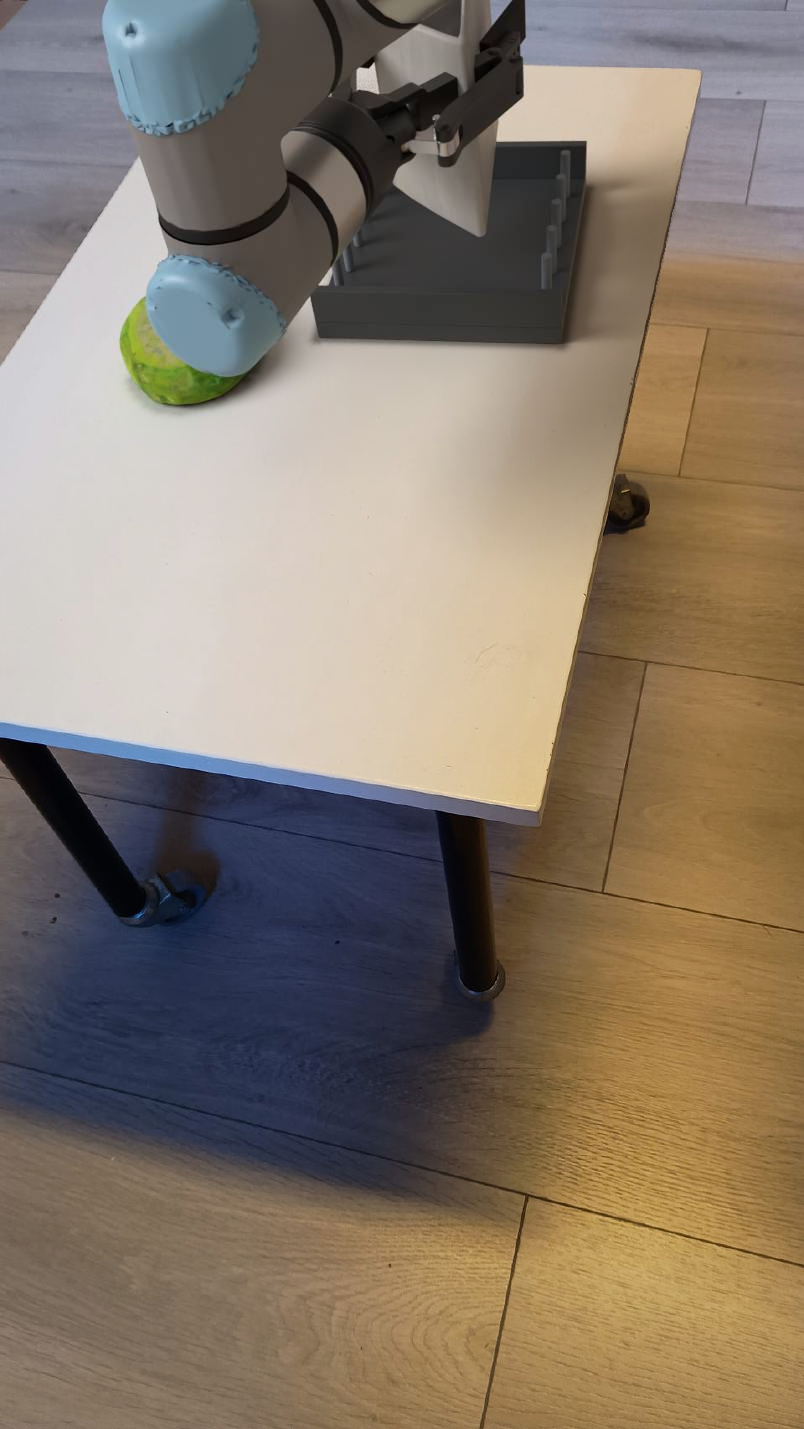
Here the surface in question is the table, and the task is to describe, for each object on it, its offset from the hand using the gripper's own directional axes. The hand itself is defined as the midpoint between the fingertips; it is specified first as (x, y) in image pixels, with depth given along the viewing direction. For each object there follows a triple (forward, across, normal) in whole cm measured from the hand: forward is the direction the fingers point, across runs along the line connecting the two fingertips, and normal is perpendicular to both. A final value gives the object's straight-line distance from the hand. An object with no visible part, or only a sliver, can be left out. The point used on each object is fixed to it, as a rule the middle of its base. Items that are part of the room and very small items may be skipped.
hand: (459, 10), depth 81 cm
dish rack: (-3, 0, -19) cm, 19 cm away
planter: (-5, 0, -11) cm, 12 cm away
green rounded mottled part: (-21, -16, -19) cm, 33 cm away
